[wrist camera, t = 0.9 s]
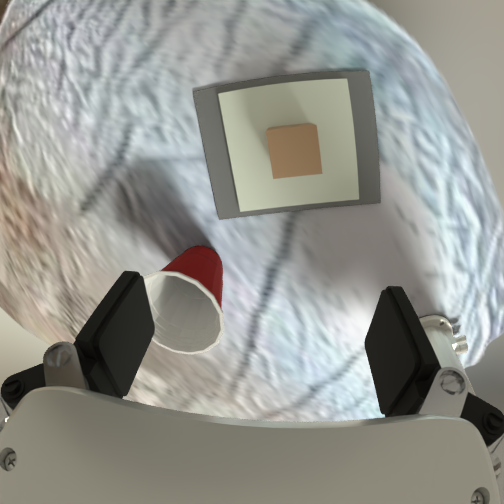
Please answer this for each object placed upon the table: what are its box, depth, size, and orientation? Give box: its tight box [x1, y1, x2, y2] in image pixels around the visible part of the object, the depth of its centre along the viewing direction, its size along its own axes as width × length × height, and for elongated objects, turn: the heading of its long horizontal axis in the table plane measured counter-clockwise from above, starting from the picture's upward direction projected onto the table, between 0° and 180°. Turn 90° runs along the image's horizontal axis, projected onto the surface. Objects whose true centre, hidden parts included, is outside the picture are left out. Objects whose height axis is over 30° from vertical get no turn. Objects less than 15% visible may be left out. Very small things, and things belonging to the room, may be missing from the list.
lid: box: [218, 79, 359, 212], centre depth 27 cm, size 14×14×7 cm
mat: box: [193, 71, 380, 220], centre depth 31 cm, size 20×16×1 cm
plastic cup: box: [143, 246, 224, 355], centre depth 34 cm, size 11×11×12 cm
